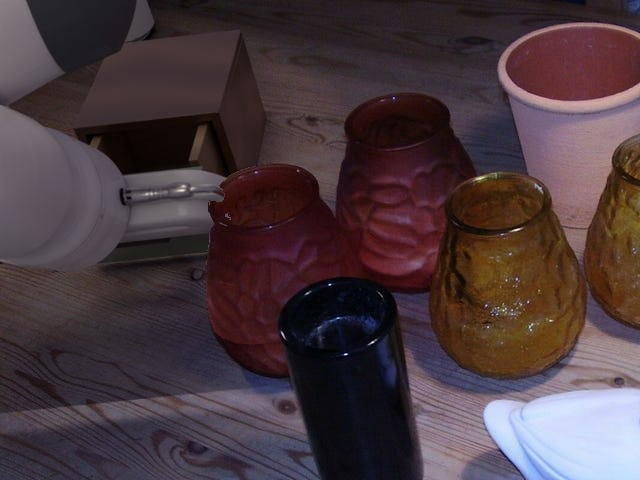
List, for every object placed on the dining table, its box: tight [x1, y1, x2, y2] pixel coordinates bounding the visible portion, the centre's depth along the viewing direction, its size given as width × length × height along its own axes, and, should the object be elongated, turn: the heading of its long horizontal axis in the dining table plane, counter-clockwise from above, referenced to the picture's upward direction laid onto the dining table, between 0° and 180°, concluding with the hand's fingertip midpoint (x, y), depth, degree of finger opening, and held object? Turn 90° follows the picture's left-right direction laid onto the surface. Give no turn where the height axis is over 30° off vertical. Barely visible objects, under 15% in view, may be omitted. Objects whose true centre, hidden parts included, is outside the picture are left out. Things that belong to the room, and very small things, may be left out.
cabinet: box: [72, 29, 267, 175], centre depth 93 cm, size 15×13×10 cm
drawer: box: [90, 121, 230, 265], centre depth 86 cm, size 18×11×8 cm, turn 2°
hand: (136, 228), depth 80 cm, fingers closed on drawer, 5 cm apart
